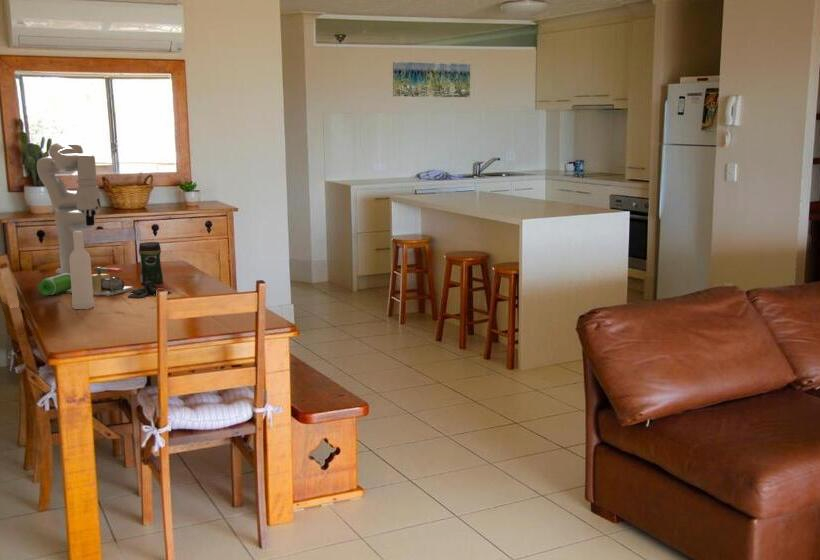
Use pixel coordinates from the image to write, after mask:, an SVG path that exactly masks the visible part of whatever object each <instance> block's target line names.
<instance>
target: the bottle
mask: <svg viewBox="0 0 820 560" xmlns="http://www.w3.org/2000/svg"><path fill="white" fill-rule="evenodd" d="M73 240H74V251H73V252H72V253H71V254H70V258H69V263H70V277H71V290H72V294H71V303H72V309H73V308H75V309H86V310H88V309H87V308H91V309H93V308H95V299H94V295H93V286H92V275H93V274H92V260H91V256H90V253H89V252H88V251H87V250H85V243H84V232H83V230H76V231H74V232H73ZM92 307H93V308H92ZM75 309H74V310H75Z"/></svg>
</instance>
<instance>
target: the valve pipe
mask: <svg viewBox="0 0 820 560" xmlns="http://www.w3.org/2000/svg"><path fill="white" fill-rule="evenodd" d="M92 286H93V294H94V295H93V296H99V295H106V296H105V297H111V296H110V295H112V296H114V294H115V295H119V294H122V293H126V292H129V290H130V291H133V290H134V286H129V285H128V286H127V285H125V281H124V280H123V279H120V277H117V276H113V277H110V273H101V274H97V273H94V274H92ZM132 289H133V290H132ZM125 291H126V292H125ZM65 292H66V294H71V293H72V290H71V289H69V290H66V291H65ZM118 293H119V294H118Z"/></svg>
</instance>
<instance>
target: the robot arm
mask: <svg viewBox="0 0 820 560" xmlns="http://www.w3.org/2000/svg"><path fill="white" fill-rule="evenodd" d="M48 153H49V154H48V155H49V156H45V157H42V158H39V159H38V160H37V162H36V171H37V175H38V178H39V179H40V181H41V182H42V184H43V186H44V187H45V188H46V191H47V193H48V197H49V199H50V202H51V204H52V207H53V209H54V210H55V211H56V212H57V213H56V214H55V215H54V216H55V217H54V221H55V223H54V224H55V226H56V230H57V231H56V232H57V235H58V245H59V258H60V259H59V260H60V268H59V267H58V268H57V269H56V270H55V273H56V274H63V273H69V274H70V263H69V258H70V254H71V253H72V252H73V251H74V240H73V232H75V231H83V230H91V229H93V228H94V227H95V226H96V214H97V213H99V212H101V207H102V205H101V204H102V199H101V195H100V194H101V193H100V189H99V186H98V183H97V182H98V181H97V168H96V166H97V165H96V158H95V156H94V155H93V154H89V153H84V151H83V147H82V146H81V144H79V143H77V142H55V143H53V144H52V145H50V146H49V149H48ZM76 172H77V180H76V184H78V186H76V190H68V188H67V185H66V183H65V182H64V181H63V180H62V179H61V178H59V176H56V175H72V174H74V173H76Z"/></svg>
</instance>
